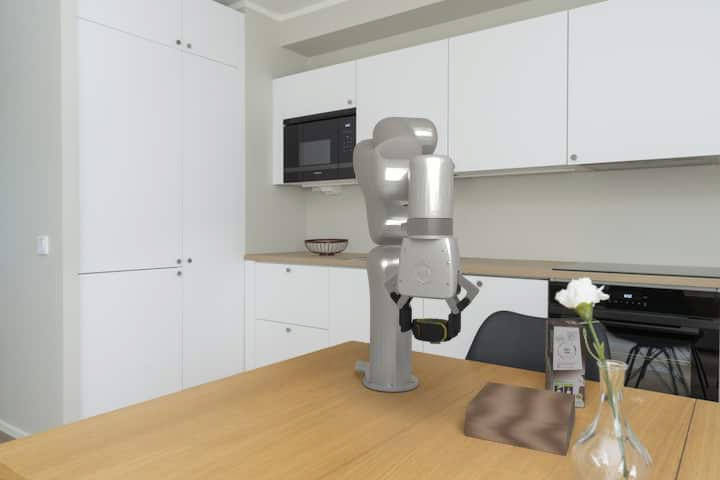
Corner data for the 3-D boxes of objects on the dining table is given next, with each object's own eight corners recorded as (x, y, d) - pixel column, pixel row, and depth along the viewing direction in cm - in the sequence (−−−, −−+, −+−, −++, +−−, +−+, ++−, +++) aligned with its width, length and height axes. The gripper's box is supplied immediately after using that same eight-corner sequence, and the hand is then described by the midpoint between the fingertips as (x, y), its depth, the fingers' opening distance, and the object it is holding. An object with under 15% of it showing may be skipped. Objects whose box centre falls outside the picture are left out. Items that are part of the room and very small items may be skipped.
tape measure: (450, 337, 88) (450, 316, 88) (455, 347, 82) (455, 324, 81) (411, 337, 89) (411, 316, 89) (413, 346, 82) (413, 323, 82)
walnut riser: (465, 435, 86) (465, 406, 86) (487, 406, 100) (488, 381, 100) (565, 455, 79) (566, 424, 78) (574, 421, 93) (575, 394, 93)
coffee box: (585, 408, 100) (587, 327, 99) (551, 405, 101) (552, 325, 101) (575, 393, 109) (577, 319, 108) (544, 391, 110) (545, 317, 110)
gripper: (373, 229, 85) (373, 332, 86) (474, 230, 77) (473, 344, 77) (393, 229, 92) (392, 324, 92) (488, 230, 83) (486, 335, 84)
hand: (429, 333), depth 85 cm, fingers closed on tape measure, 7 cm apart
